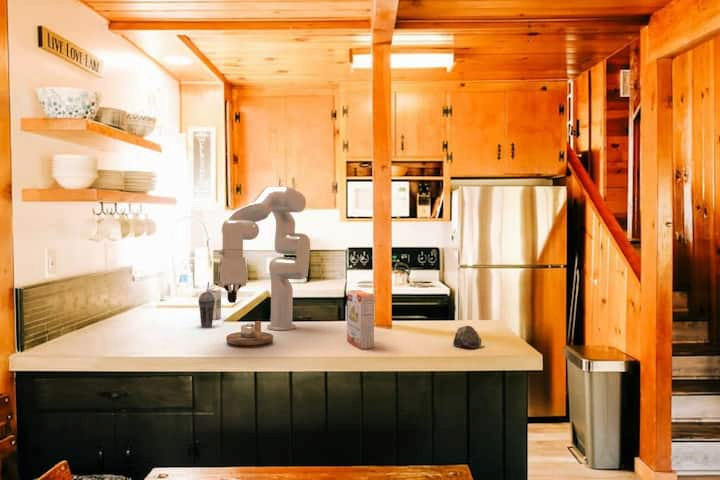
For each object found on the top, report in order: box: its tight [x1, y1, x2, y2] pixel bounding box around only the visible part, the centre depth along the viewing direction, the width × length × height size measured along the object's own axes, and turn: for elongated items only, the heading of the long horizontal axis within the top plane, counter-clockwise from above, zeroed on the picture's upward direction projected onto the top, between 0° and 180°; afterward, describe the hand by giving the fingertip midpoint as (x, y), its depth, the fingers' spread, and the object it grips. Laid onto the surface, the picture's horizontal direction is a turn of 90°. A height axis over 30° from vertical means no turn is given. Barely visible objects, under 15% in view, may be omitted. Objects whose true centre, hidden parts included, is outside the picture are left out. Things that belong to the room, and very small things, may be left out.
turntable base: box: [238, 344, 263, 347], centre depth 229 cm, size 11×11×1 cm
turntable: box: [226, 320, 274, 346], centre depth 229 cm, size 18×18×8 cm
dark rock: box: [452, 325, 482, 349], centre depth 230 cm, size 11×9×10 cm
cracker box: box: [346, 289, 375, 350], centre depth 228 cm, size 14×6×21 cm, turn 23°
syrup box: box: [205, 287, 222, 321], centre depth 278 cm, size 6×6×14 cm
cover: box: [240, 323, 255, 338], centre depth 228 cm, size 7×7×5 cm
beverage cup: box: [198, 281, 215, 329], centre depth 258 cm, size 7×7×20 cm
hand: (232, 302), depth 219 cm, fingers closed
